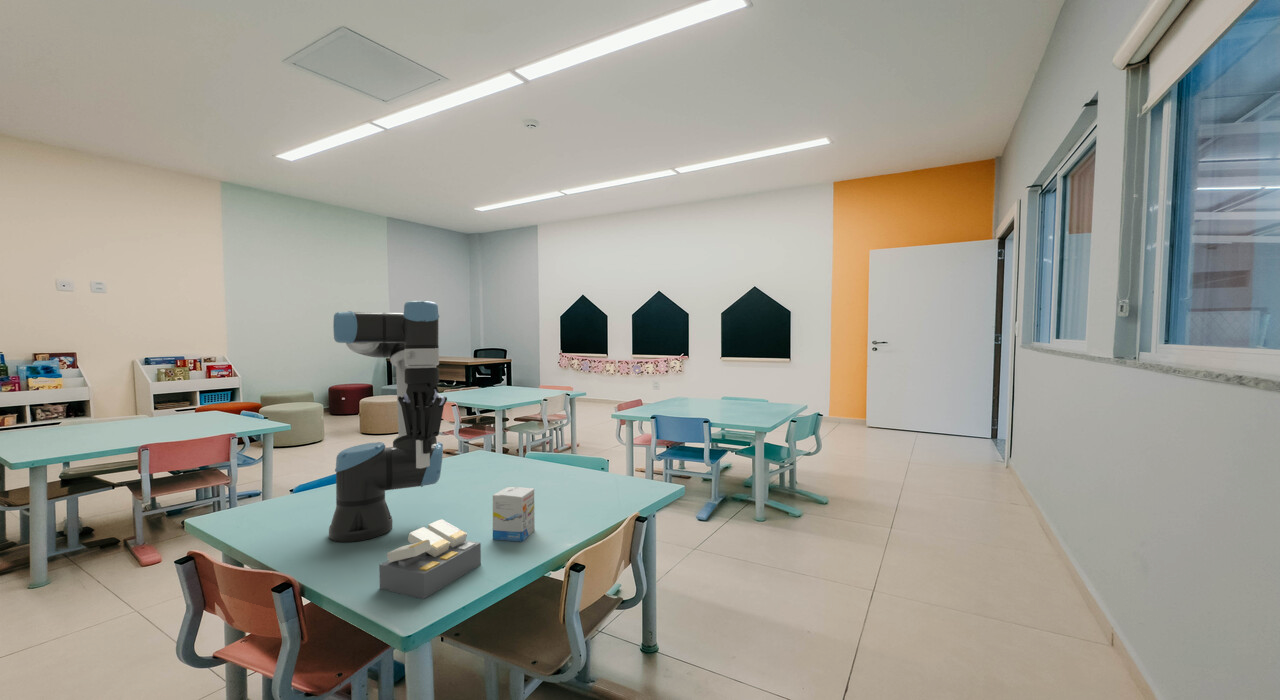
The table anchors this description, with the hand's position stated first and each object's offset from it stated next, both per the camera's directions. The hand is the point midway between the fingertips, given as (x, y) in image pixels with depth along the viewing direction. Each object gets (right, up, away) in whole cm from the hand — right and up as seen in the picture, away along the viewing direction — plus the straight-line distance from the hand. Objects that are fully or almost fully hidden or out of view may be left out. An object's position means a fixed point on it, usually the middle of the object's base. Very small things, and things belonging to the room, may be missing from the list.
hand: (423, 467), depth 120 cm
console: (+6, -22, -9) cm, 24 cm away
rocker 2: (+5, -15, -8) cm, 17 cm away
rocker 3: (+7, -14, -3) cm, 16 cm away
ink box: (+18, -22, +16) cm, 32 cm away
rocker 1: (+3, -15, -13) cm, 20 cm away
